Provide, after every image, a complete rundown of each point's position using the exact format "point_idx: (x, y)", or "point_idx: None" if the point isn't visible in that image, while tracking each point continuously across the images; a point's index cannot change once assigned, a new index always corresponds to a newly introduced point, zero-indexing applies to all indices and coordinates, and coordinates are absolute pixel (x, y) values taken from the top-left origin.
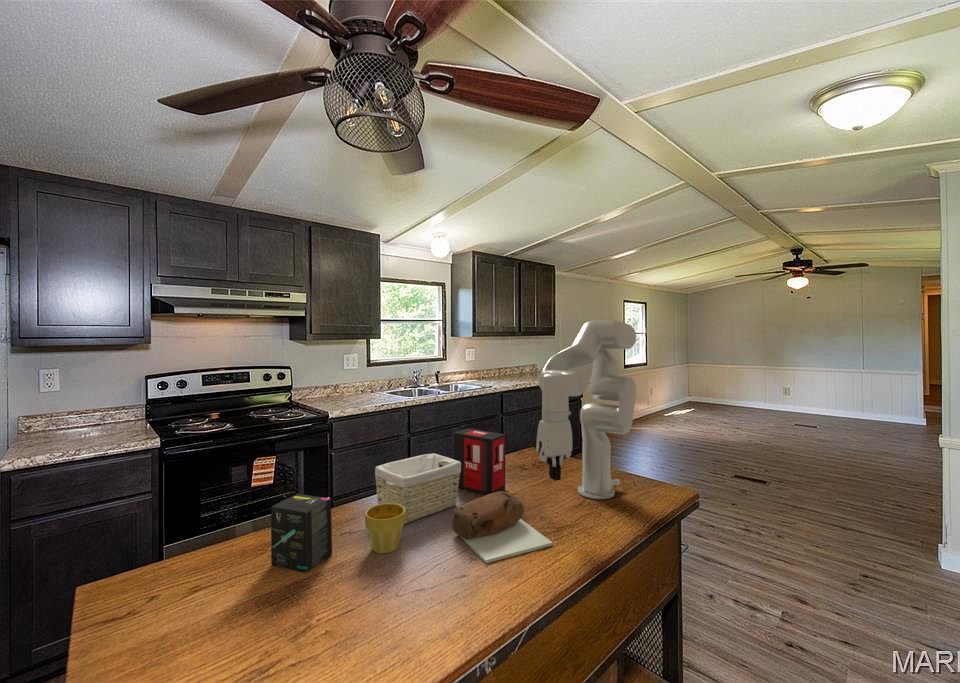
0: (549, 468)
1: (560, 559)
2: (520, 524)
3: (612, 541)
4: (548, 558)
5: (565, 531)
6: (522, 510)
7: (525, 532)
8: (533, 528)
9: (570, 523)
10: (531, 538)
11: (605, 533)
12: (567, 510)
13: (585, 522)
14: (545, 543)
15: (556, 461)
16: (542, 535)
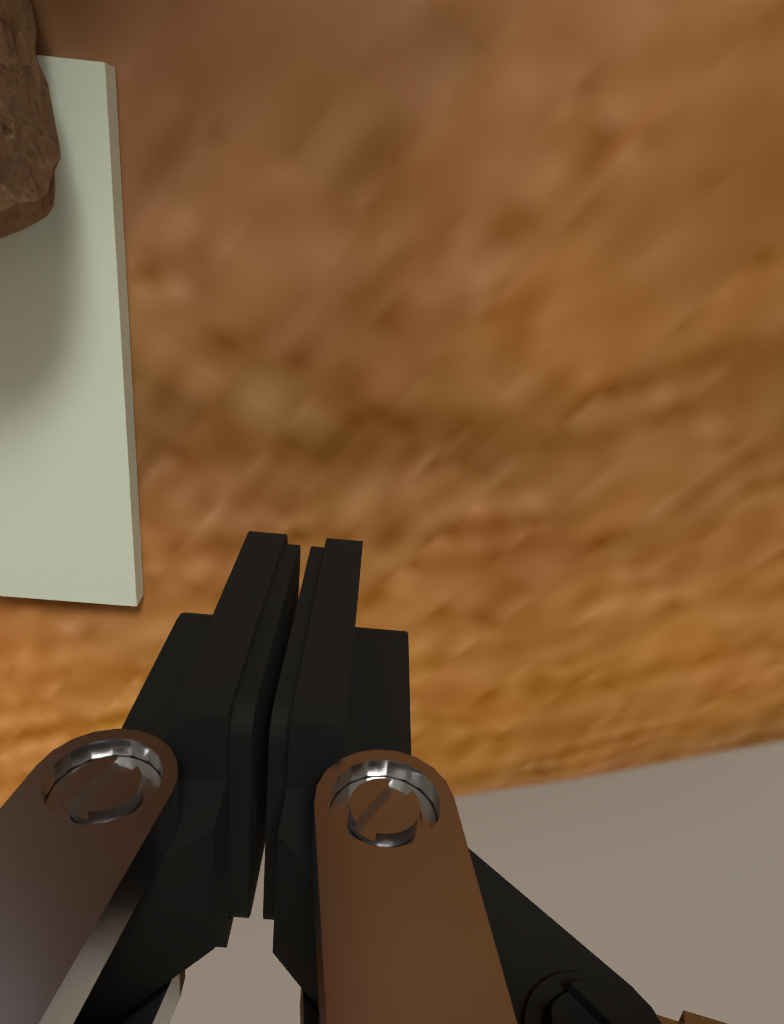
0: (133, 716)
1: (93, 727)
2: (45, 224)
3: (539, 737)
4: (29, 689)
5: (372, 492)
6: (3, 231)
7: (17, 382)
8: (122, 361)
9: (515, 409)
10: (16, 489)
11: (599, 653)
12: (729, 167)
13: (636, 461)
14: (80, 593)
15: (314, 922)
16: (125, 496)
